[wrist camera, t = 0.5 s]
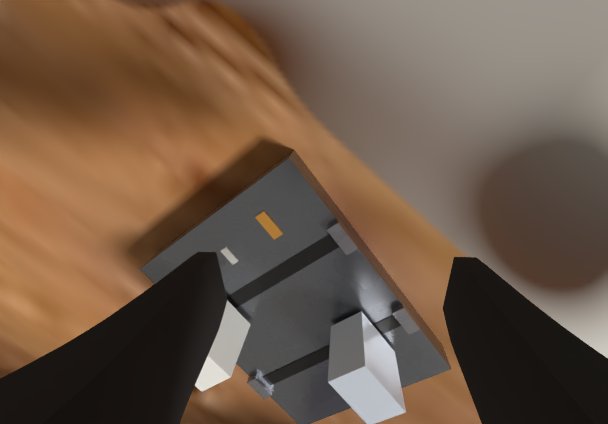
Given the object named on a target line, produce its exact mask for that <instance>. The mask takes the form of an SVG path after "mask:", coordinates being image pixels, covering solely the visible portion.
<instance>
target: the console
mask: <svg viewBox="0 0 608 424" xmlns="http://www.w3.org/2000/svg"><path fill="white" fill-rule="evenodd" d="M197 252H216V253H217V257H218V262H219V266H220V270H221V274H222V279H223V283H224V287H225V292H226V296H227V300H228V301H229V302H230V303H231V305H232V306H233V307H234V308H235V309H236V310H237V311H238V312H239V313H240V314H241V315H242V316H243V317H244V318H245V319H246V320H247V321H248V322H249V323H250V324H251V325H250V328H249V330H248V333H247V335H246V338H245V341H244V343H243V346H242V349H241V351H240V354H239V357H238V359H237V362H236V364H237V365H238V366H239V367H241V368H242V369H243V370H244V371H245V372H246V373H247V374H248V375H249V376H250V377H249V378H248V381H247V383H248V384H249V385H250V386H251V387H252V388H253V389H254V390H255V391H256V392H257V393H258V394H259V395H260V396H261V397H262V398H263V399H265V398H268V397H271V398H272V399H273V400H274V401H275V402H276V403H277V404H278V405H279V406H280V407H281V408H282V409H283V410H285V411H286V412H287V413H288V414H289V415H290V416H291V417H292V418H293V419H294V420H295V421H296V422H297V423H298V424H310V423H313V422H315V421H318V420H321V419H323V418H326V417H328V416H331V415H333V414H336V413H339V412H341V411H344V410H346V409H349V408H352V407H351V406H350V405H349V404H348V403H347V402H346V401H345V400H344V399H343V398H342V397H341V396H340V395H339V394H338V392H337V391H336V390H335V389H334V388H333V387H332V386H331V385H330V384H329V383H328V369H329V351H330V332H331V326H333V325H335V324H337V323H339V322H341V321H343V320H345V319H347V318H349V317H351V316H353V315H355V314H357V313H359V312H361V311H362V312H363V314H364V315H365V316H366V317H367V319H368V320H369V321H370V322H371V323H372V325H373V326H374V327H375V328H376V330H377V331H378V332H379V333H380V334H381V336H382V337H383V338H384V339H385V341H386V342H387V343H388V344H389V345H390V347H391V348H392V349H393V350H394V352H395V356H396V361H397V367H398V372H399V378H400V383H401V388H403V387H406V386H408V385H411V384H414V383H416V382H419V381H421V380H424V379H426V378H429V377H432V376H434V375H437V374H439V373H442V372H445V371H447V370H450V369H451V367H450V364H449V362H448V359H447V356H446V353H445V351H444V348H443V346H442V344H441V343H440V342H439V340H438V339H437V338H436V336H435V335H434V334H433V332H432V331H431V330H430V329H429V327H428V326H427V325H426V323H425V322H424V321H423V319H422V318H421V317H420V315H419V314H418V313H417V311H416V310H415V309H414V307H413V306H412V305H411V303H410V302H409V301H408V299H407V298H406V297H405V295H404V294H403V293H402V292H401V290H400V289H399V288H398V286H397V285H396V284H395V282H394V281H393V280H392V278H391V277H390V276H389V274H388V273H387V272H386V270H385V269H384V268H383V266H382V265H381V264H380V262H379V261H378V260H377V258H376V257H375V256H374V255H373V253H372V252H371V251H370V249H369V248H368V247H367V245H366V244H365V243H364V241H363V240H362V239H361V237H360V236H359V235H358V233H357V232H356V231H355V229H354V228H353V227H352V225H351V224H350V223H349V221H348V220H347V219H346V218H345V216H344V215H343V214H342V212H341V211H340V210H339V208H338V207H337V206H336V204H335V203H334V202H333V200H332V199H331V198H330V196H329V195H328V194H327V192H326V191H325V190H324V188H323V187H322V186H321V185H320V183H319V182H318V181H317V179H316V178H315V177H314V175H313V174H312V173H311V171H310V170H309V169H308V167H307V166H306V165H305V163H304V162H303V161H302V159H301V158H300V157H299V155H298V154H297V153H296V151H295V150H294V151H292V152H291V153H290V154H288V155H287V156H286V157H284V158H283V159H282V160H280V161H279V162H278V163H276V164H275V165H274V166H272V167H271V168H270V169H268V170H267V171H266V172H264V173H263V174H262V175H260V176H259V177H258V178H256V179H255V180H254V181H252V182H251V183H250V184H248V185H247V186H246V187H244V188H243V189H242V190H240V191H239V192H238V193H236V194H235V195H234V196H232V197H231V198H230V199H228V200H227V201H226V202H224V203H223V204H222V205H220V206H219V207H218V208H216V209H215V210H214V211H212V212H211V213H210V214H208V215H207V216H206V217H204V218H203V219H202V220H200V221H199V222H198V223H196V224H195V225H194V226H192V227H191V228H190V229H188V230H187V231H186V232H184V233H183V234H182V235H180V236H179V237H178V238H176V239H175V240H174V241H172V242H171V243H170V244H168V245H167V246H166V247H164V248H163V249H162V250H160V251H159V252H158V253H156V254H155V255H154V256H153V257H152V258H151V259H150V260H149V261H148V262H147V263H146V264H145V265H144V266H143V267H141V268H140V270H141V271H142V272H143V273H144V274H145V275H146V276H147V277H148V278H149V279H150V280H152V281H153V282H154V283H155V284H156V283H157V282H158V281H160V280H161V279H162V278H164V277H165V276H166V275H167V274H169V273H170V272H171V271H173V270H174V269H175V268H177V267H178V266H179V265H181V264H182V263H183V262H184V261H186V260H187V259H189V258H190V257H191V256H193V255H194V254H196V253H197Z"/></svg>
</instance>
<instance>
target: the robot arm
mask: <svg viewBox="0 0 608 424" xmlns="http://www.w3.org/2000/svg"><path fill="white" fill-rule="evenodd" d="M226 303H227V296H226V292H225V287H224V283H223V279H222V274H221V270H220V266H219V262H218V257H217V253H216V252H197V253H196V254H194V255H193V256H191V257H190V258H189V259H187V260H186V261H184V262H183V263H182V264H181V265H179V266H178V267H177V268H175V269H174V270H173V271H171V272H170V273H169V274H167V275H166V276H165V277H164V278H162V279H161V280H160V281H158V282H157V283H156V284H154V285H153V286H152V287H150V288H149V289H148V290H146V291H145V292H144V293H142V294H141V295H139V296H138V297H137V298H135V299H134V300H132V301H131V302H129V303H128V304H127V305H125V306H124V307H122V308H121V309H119V310H118V311H117V312H115V313H114V314H112V315H111V316H109V317H108V318H106V319H105V320H103V321H102V322H100V323H99V324H97V325H96V326H94V327H92V328H91V329H89V330H88V331H86V332H84V333H83V334H81V335H79V336H78V337H76V338H74V339H73V340H71V341H69V342H68V343H66V344H64V345H63V346H61V347H59V348H57V349H55V350H54V351H52V352H50V353H48V354H46V355H44V356H42V357H41V358H39V359H37V360H35V361H33V362H31V363H29V364H28V365H26V366H24V367H22V368H20V369H18V370H16V371H14V372H13V373H11V374H9V375H7V376H5V377H3V378H1V379H0V424H180V421H181V418H182V415H183V413H184V410H185V408H186V405H187V402H188V400H189V397H190V395H191V393H192V391H193V388H194V386H195V384H196V381H197V379H198V377H199V375H200V372H201V370H202V368H203V365H204V363H205V361H206V359H207V356H208V354H209V352H210V349H211V347H212V345H213V342H214V340H215V338H216V335H217V333H218V330H219V327H220V324H221V321H222V318H223V314H224V311H225V307H226ZM443 311H444V315H445V320H446V324H447V328H448V332H449V336H450V340H451V343H452V346H453V349H454V351H455V354H456V357H457V359H458V362H459V365H460V367H461V370H462V373H463V375H464V378H465V380H466V383H467V386H468V388H469V391H470V394H471V396H472V399H473V401H474V404H475V407H476V409H477V412H478V415H479V417H480V420H481V422H482V424H608V358H606V357H605V356H603V355H602V354H600V353H598V352H597V351H596V350H594V349H593V348H592V347H590V346H589V345H587V344H586V343H584V342H583V341H582V340H580V339H579V338H578V337H576V336H575V335H574V334H572V333H571V332H569V331H568V330H567V329H565V328H564V327H563V326H561V325H560V324H558V323H557V322H556V321H555V320H553V319H552V318H551V317H549V316H548V315H547V314H545V313H544V312H543V311H542V310H540V309H539V308H538V307H536V306H535V305H534V304H533V303H531V302H530V301H529V300H528V299H526V298H525V297H524V296H523V295H522V294H520V293H519V292H518V291H517V290H515V289H514V288H513V287H512V286H511V285H509V284H508V283H507V282H506V281H505V280H503V279H502V278H501V277H500V276H499V275H497V274H496V273H495V272H494V271H493V270H491V269H490V268H489V267H488V266H486V265H485V264H484V263H482V262H481V261H480V260H479V259H477V258H472V257H454V260H453V264H452V269H451V274H450V278H449V283H448V287H447V292H446V296H445V301H444V305H443Z"/></svg>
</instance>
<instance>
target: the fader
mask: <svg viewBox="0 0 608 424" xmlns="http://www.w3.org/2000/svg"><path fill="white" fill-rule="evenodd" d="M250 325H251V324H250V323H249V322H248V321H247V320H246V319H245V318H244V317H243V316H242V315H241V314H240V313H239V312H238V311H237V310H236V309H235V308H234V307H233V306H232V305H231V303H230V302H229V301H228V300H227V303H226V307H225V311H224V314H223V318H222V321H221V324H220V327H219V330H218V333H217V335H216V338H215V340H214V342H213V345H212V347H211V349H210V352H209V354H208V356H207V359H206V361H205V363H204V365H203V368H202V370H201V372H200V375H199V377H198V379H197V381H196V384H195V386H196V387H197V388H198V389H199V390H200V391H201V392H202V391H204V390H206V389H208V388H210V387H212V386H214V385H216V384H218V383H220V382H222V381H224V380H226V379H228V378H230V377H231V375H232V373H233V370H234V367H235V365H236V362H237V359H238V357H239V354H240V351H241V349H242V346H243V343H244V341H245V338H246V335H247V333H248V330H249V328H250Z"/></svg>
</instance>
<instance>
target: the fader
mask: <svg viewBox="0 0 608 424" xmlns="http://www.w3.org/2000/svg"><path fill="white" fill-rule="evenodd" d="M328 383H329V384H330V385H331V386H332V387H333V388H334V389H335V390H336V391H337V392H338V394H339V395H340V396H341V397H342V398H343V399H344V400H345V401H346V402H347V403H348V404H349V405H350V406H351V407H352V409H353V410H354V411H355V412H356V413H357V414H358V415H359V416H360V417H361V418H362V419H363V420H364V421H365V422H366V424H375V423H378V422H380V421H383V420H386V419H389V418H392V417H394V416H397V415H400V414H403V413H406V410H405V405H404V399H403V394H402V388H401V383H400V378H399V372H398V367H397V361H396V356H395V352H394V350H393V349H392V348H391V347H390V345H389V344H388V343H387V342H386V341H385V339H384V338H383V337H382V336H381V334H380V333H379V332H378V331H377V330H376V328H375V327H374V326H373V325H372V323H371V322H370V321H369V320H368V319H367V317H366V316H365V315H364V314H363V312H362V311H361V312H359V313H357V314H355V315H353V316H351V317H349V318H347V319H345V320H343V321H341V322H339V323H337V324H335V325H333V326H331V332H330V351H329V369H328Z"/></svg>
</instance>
